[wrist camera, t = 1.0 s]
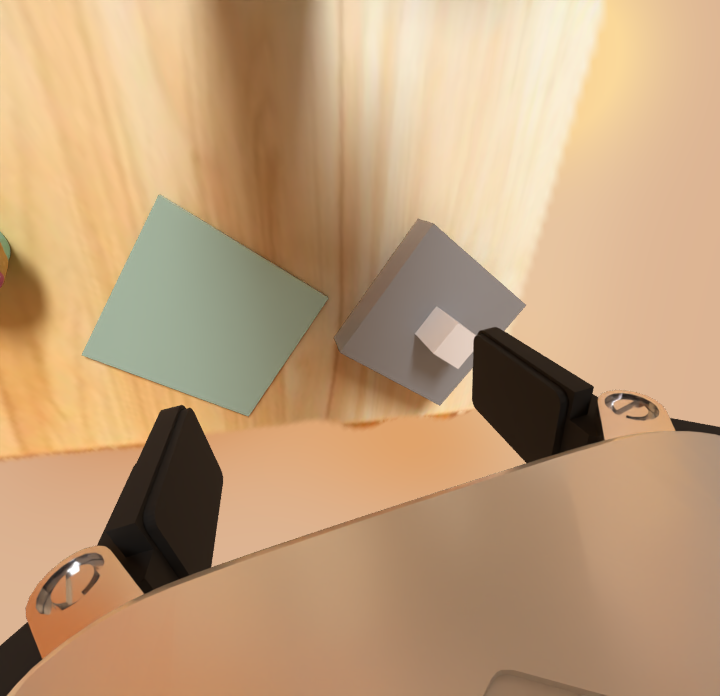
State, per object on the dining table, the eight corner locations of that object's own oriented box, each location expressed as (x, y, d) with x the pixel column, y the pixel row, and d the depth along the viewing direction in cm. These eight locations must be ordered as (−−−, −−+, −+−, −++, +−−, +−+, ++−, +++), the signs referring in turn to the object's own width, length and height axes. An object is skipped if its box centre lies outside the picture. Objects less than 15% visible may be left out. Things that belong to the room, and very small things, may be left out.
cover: (418, 218, 37) (458, 231, 30) (506, 295, 45) (556, 320, 37) (333, 337, 42) (349, 375, 34) (427, 389, 49) (458, 429, 41)
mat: (160, 194, 33) (158, 195, 33) (327, 296, 42) (328, 298, 42) (84, 352, 38) (81, 355, 38) (248, 413, 47) (248, 416, 47)
